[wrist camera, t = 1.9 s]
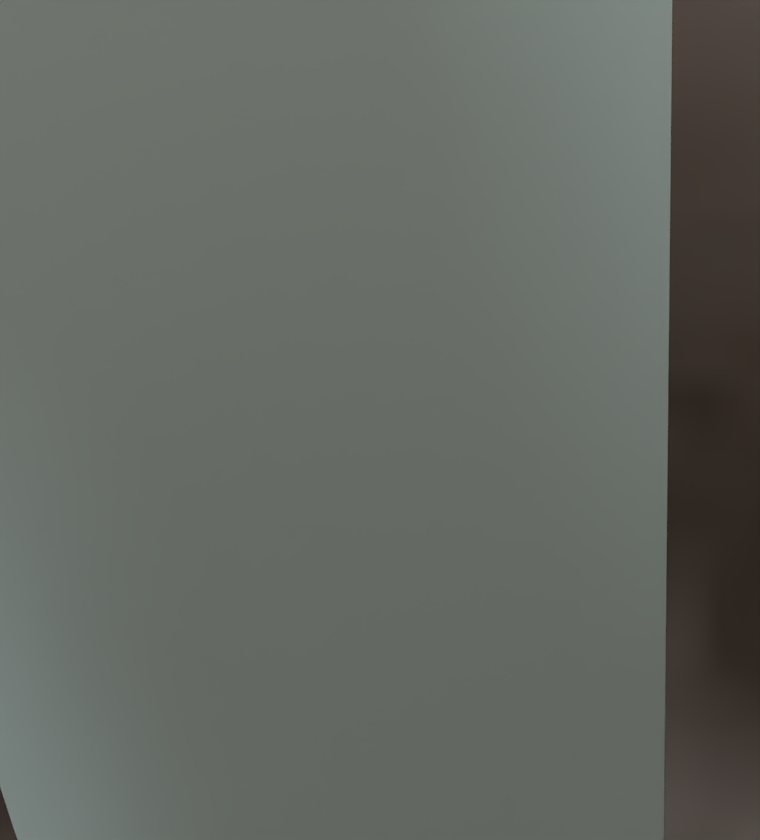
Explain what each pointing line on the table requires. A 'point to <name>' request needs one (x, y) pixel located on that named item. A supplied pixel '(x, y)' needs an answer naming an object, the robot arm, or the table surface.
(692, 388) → the table surface
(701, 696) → the table surface
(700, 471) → the table surface
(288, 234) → the sage plank
